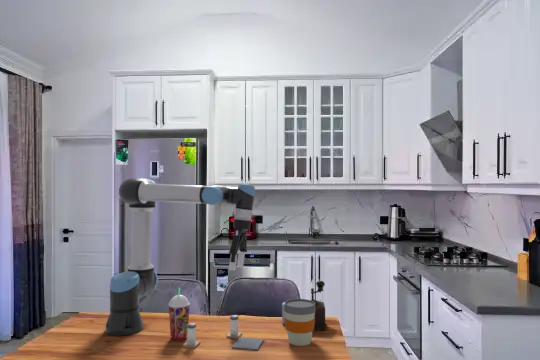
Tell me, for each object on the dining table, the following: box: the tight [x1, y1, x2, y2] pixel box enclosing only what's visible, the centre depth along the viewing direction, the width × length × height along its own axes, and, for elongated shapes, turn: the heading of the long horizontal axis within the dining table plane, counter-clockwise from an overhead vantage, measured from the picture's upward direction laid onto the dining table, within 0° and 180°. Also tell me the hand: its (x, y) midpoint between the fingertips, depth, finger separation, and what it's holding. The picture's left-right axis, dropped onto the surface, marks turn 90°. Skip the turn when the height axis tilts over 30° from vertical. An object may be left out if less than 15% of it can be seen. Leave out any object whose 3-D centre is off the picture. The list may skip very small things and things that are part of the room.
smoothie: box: [168, 287, 191, 341], centre depth 164 cm, size 8×8×20 cm
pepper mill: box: [310, 280, 327, 331], centre depth 180 cm, size 16×11×18 cm
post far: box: [226, 314, 243, 340], centre depth 166 cm, size 5×5×8 cm
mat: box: [231, 336, 265, 351], centre depth 157 cm, size 10×10×1 cm
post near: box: [182, 322, 201, 349], centre depth 156 cm, size 5×5×8 cm
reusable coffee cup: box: [284, 298, 316, 347], centre depth 160 cm, size 13×12×15 cm
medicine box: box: [281, 301, 286, 325], centre depth 182 cm, size 8×4×9 cm, turn 84°
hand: (236, 268), depth 176 cm, fingers open, 13 cm apart
